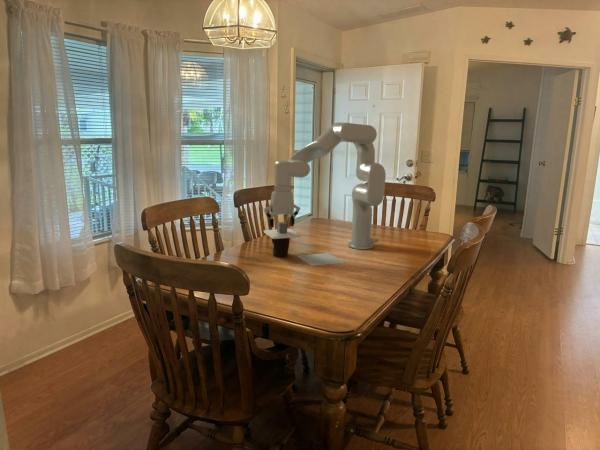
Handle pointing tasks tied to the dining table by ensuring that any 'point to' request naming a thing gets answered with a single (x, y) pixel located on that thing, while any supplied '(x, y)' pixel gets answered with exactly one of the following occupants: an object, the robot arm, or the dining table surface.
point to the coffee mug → (280, 247)
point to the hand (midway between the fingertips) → (281, 226)
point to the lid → (281, 232)
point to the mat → (320, 259)
